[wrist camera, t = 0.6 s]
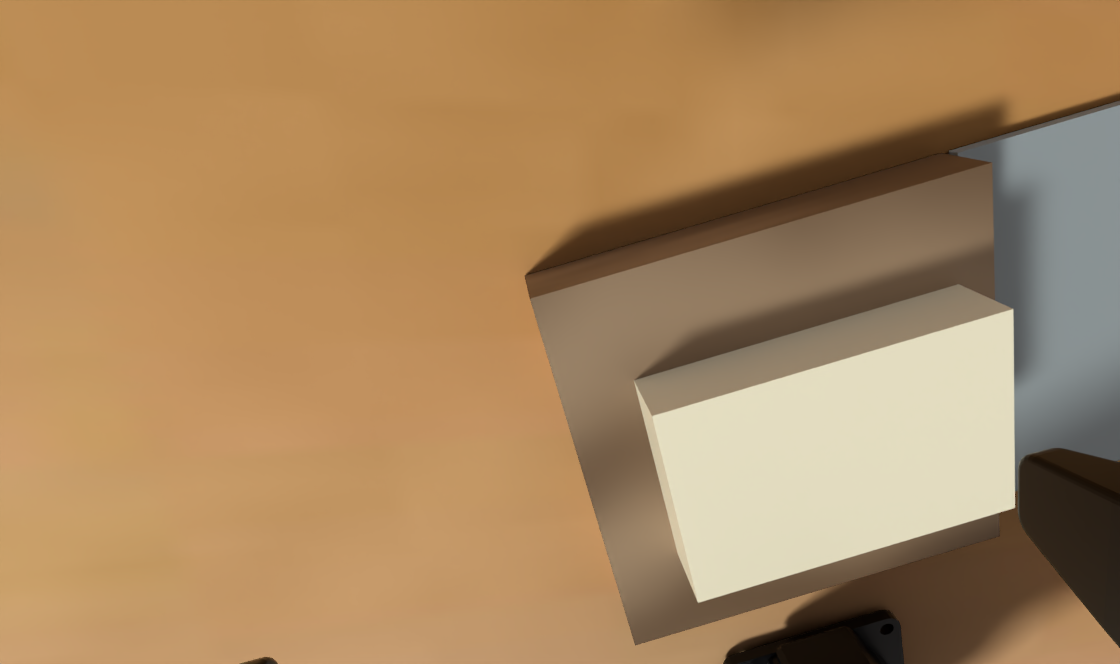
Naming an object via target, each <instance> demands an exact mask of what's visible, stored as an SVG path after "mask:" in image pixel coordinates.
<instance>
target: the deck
mask: <svg viewBox="0 0 1120 664" xmlns="http://www.w3.org/2000/svg"><path fill="white" fill-rule="evenodd" d="M525 280H526V284H527V288H528V292H529V297H530V300H531V304H532V307H533V310H534V313H535V317H536V320H537V323H538V327H539V330H540V333H541V337H542V340H543V343H544V346H545V350H546V353H547V356H548V360H549V363H550V366H551V369H552V373H553V376H554V379H555V383H556V386H557V389H558V393H559V396H560V399H561V402H562V406H563V409H564V412H565V416H566V419H567V422H568V425H569V429H570V432H571V435H572V439H573V442H574V445H575V448H576V452H577V455H578V458H579V462H580V465H581V468H582V472H583V475H584V478H585V481H586V485H587V488H588V491H589V495H590V498H591V501H592V504H593V508H594V511H595V514H596V518H597V521H598V524H599V528H600V531H601V534H602V537H603V541H604V544H605V547H606V551H607V554H608V557H609V560H610V564H611V567H612V570H613V574H614V577H615V580H616V583H617V587H618V590H619V593H620V597H621V600H622V603H623V607H624V610H625V613H626V616H627V620H628V623H629V626H630V630H631V633H632V636H633V639H634V643H635V645H638V644H641V643H645V642H648V641H651V640H655V639H658V638H661V637H665V636H668V635H671V634H675V633H678V632H681V631H685V630H688V629H691V628H695V627H698V626H701V625H705V624H708V623H711V622H715V621H718V620H721V619H725V618H728V617H731V616H735V615H738V614H741V613H745V612H748V611H751V610H755V609H758V608H761V607H765V606H768V605H771V604H775V603H778V602H782V601H785V600H788V599H792V598H795V597H798V596H802V595H805V594H808V593H812V592H815V591H818V590H822V589H825V588H828V587H832V586H835V585H838V584H842V583H845V582H848V581H852V580H855V579H858V578H862V577H865V576H868V575H872V574H875V573H878V572H882V571H885V570H888V569H892V568H895V567H898V566H902V565H905V564H908V563H912V562H915V561H918V560H922V559H925V558H928V557H932V556H935V555H938V554H942V553H945V552H948V551H952V550H955V549H958V548H962V547H965V546H968V545H972V544H975V543H978V542H982V541H985V540H988V539H992V538H995V537H998V536H1000V530H999V513H997V514H993V515H990V516H987V517H983V518H980V519H976V520H973V521H970V522H966V523H963V524H960V525H956V526H953V527H950V528H946V529H943V530H940V531H936V532H933V533H930V534H926V535H923V536H920V537H916V538H913V539H910V540H906V541H903V542H900V543H896V544H893V545H890V546H886V547H883V548H880V549H876V550H873V551H870V552H866V553H863V554H860V555H856V556H853V557H850V558H846V559H843V560H840V561H836V562H833V563H830V564H826V565H823V566H820V567H816V568H813V569H810V570H806V571H803V572H799V573H796V574H793V575H789V576H786V577H783V578H779V579H776V580H773V581H769V582H766V583H763V584H759V585H756V586H753V587H749V588H746V589H743V590H739V591H736V592H733V593H729V594H726V595H723V596H719V597H716V598H713V599H709V600H706V601H703V602H699V603H698V602H697V599H696V597H695V594H694V592H693V589H692V587H691V585H690V582H689V580H688V577H687V575H686V573H685V570H684V568H683V565H682V563H681V561H680V558H679V556H678V553H677V549H676V545H675V541H674V537H673V533H672V529H671V525H670V521H669V517H668V513H667V509H666V505H665V501H664V498H663V494H662V490H661V486H660V482H659V478H658V474H657V470H656V466H655V462H654V458H653V454H652V450H651V446H650V442H649V438H648V434H647V430H646V426H645V422H644V418H643V414H642V411H641V407H640V403H639V399H638V395H637V391H636V387H635V383H634V380H637V379H640V378H643V377H647V376H650V375H653V374H657V373H660V372H664V371H667V370H670V369H674V368H677V367H680V366H684V365H687V364H691V363H694V362H697V361H701V360H704V359H707V358H711V357H714V356H718V355H721V354H724V353H728V352H731V351H734V350H738V349H741V348H745V347H748V346H751V345H755V344H758V343H761V342H765V341H768V340H772V339H775V338H778V337H782V336H785V335H788V334H792V333H795V332H799V331H802V330H805V329H809V328H812V327H815V326H819V325H822V324H826V323H829V322H832V321H836V320H839V319H842V318H846V317H849V316H853V315H856V314H859V313H863V312H866V311H869V310H873V309H876V308H880V307H883V306H886V305H890V304H893V303H896V302H900V301H903V300H907V299H910V298H913V297H917V296H920V295H924V294H927V293H930V292H934V291H937V290H940V289H944V288H947V287H951V286H954V285H957V284H959V285H962V286H964V287H966V288H968V289H970V290H973V291H975V292H977V293H979V294H981V295H984V296H986V297H988V298H990V299H993V300H995V275H994V224H993V173H992V162H987V161H981V160H976V159H971V158H966V157H960V156H955V155H950V154H944V153H940V154H936V155H933V156H930V157H926V158H923V159H919V160H916V161H913V162H909V163H906V164H902V165H899V166H896V167H892V168H889V169H885V170H882V171H879V172H875V173H872V174H869V175H865V176H862V177H858V178H855V179H852V180H848V181H845V182H841V183H838V184H835V185H831V186H828V187H824V188H821V189H818V190H814V191H811V192H807V193H804V194H801V195H797V196H794V197H790V198H787V199H784V200H780V201H777V202H773V203H770V204H767V205H763V206H760V207H756V208H753V209H750V210H746V211H743V212H739V213H736V214H733V215H729V216H726V217H722V218H719V219H716V220H712V221H709V222H705V223H702V224H699V225H695V226H692V227H688V228H685V229H682V230H678V231H675V232H671V233H668V234H665V235H661V236H658V237H654V238H651V239H648V240H644V241H641V242H637V243H634V244H631V245H627V246H624V247H620V248H617V249H614V250H610V251H607V252H604V253H600V254H597V255H593V256H590V257H587V258H583V259H580V260H576V261H573V262H570V263H566V264H563V265H559V266H556V267H553V268H549V269H546V270H542V271H539V272H536V273H532V274H529V275H525Z"/></svg>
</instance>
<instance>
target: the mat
mask: <svg viewBox="0 0 1120 664" xmlns="http://www.w3.org/2000/svg"><path fill="white" fill-rule="evenodd" d="M949 154H950V155H955V156H960V157H966V158H971V159H976V160H981V161H987V162H992V173H993V224H994V275H995V301H997V302H999V303H1001V304H1004V305H1006V306H1008V307H1010V308H1012V309H1013V319H1014V438H1015V491H1017V490H1018V465H1019V462H1020V460H1021V459H1022V458H1023V457H1024V456H1025V455H1027V454H1031V453H1035V452H1039V451H1042V450H1046V449H1050V448H1065V449H1069V450H1073V451H1077V452H1081V453H1085V454H1089V455H1093V456H1097V457H1101V458H1105V459H1109V460H1113V461H1118V460H1120V101H1117V102H1113V103H1110V104H1106V105H1103V106H1100V107H1096V108H1093V109H1089V110H1086V111H1083V112H1079V113H1076V114H1072V115H1069V116H1066V117H1062V118H1059V119H1055V120H1052V121H1049V122H1045V123H1042V124H1038V125H1035V126H1032V127H1028V128H1025V129H1021V130H1018V131H1015V132H1011V133H1008V134H1004V135H1001V136H998V137H994V138H991V139H987V140H984V141H981V142H977V143H974V144H970V145H967V146H964V147H960V148H957V149H953V150H950V151H949Z"/></svg>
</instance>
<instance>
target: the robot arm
mask: <svg viewBox="0 0 1120 664" xmlns="http://www.w3.org/2000/svg"><path fill="white" fill-rule="evenodd" d="M1018 516H1019V520H1020V522H1021V525H1022V527H1023V529H1024V531H1025V532H1026V534H1027V535H1028V536H1029V538H1030V539H1031V540H1032V541H1033V543H1034V544H1035V545H1036V546H1037V548H1038V549H1039V550H1040V551H1041V552H1042V554H1043V555H1044V556H1045V557H1046V559H1047V560H1048V561H1049V562H1050V564H1051V565H1052V566H1053V567H1054V568H1055V570H1056V571H1057V572H1058V573H1059V575H1060V576H1061V577H1062V578H1063V580H1064V581H1065V582H1066V583H1067V585H1068V586H1069V587H1070V588H1071V589H1072V591H1073V592H1074V593H1075V594H1076V596H1077V597H1078V598H1079V599H1080V601H1081V602H1082V603H1083V604H1084V605H1085V607H1086V608H1087V609H1088V610H1089V612H1090V613H1091V614H1092V615H1093V617H1094V618H1095V619H1096V620H1097V622H1098V623H1099V624H1100V625H1101V626H1102V628H1103V629H1104V630H1105V631H1106V632H1107V634H1108V635H1109V636H1110V637H1111V638H1112V639H1113V641H1114V642H1115V643H1116V644H1117V645H1118V646H1119V648H1120V462H1117V461H1113V460H1109V459H1105V458H1101V457H1097V456H1093V455H1089V454H1085V453H1081V452H1077V451H1073V450H1069V449H1065V448H1050V449H1046V450H1042V451H1039V452H1035V453H1031V454H1027V455H1025V456H1024V457H1023V458H1022V459H1021V460H1020V462H1019V465H1018ZM240 664H278V663H277V662H276V661H275V660H274V659H273V658H271V657H263V658H259V659H255V660H251V661H248V662H244V663H240ZM723 664H904V658H903V647H902V637H901V627H900V623H899V621H898V620H897V618H896V617H895V616H894V615H893V613H891V612H890V611H887V610H882V611H877V612H874V613H871V614H867V615H864V616H861V617H857V618H854V619H851V620H847V621H844V622H841V623H837V624H834V625H831V626H827V627H824V628H821V629H817V630H814V631H811V632H807V633H804V634H801V635H797V636H794V637H791V638H787V639H784V640H781V641H777V642H774V643H771V644H767V645H764V646H761V647H757V648H754V649H751V650H747V651H744V652H741V653H737V654H734V655H732V656H730V657H728V658H727V659H726V660H725V661H724V663H723Z"/></svg>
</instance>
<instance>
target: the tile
mask: <svg viewBox="0 0 1120 664" xmlns="http://www.w3.org/2000/svg"><path fill="white" fill-rule="evenodd" d="M634 383H635V387H636V391H637V395H638V399H639V403H640V407H641V411H642V414H643V418H644V422H645V426H646V430H647V434H648V438H649V442H650V446H651V450H652V454H653V458H654V462H655V466H656V470H657V474H658V478H659V482H660V486H661V490H662V494H663V498H664V501H665V505H666V509H667V513H668V517H669V521H670V525H671V529H672V533H673V537H674V541H675V545H676V549H677V553H678V556H679V558H680V561H681V563H682V565H683V568H684V570H685V573H686V575H687V577H688V580H689V582H690V585H691V587H692V589H693V592H694V594H695V597H696V599H697V602H698V603H699V602H703V601H706V600H709V599H713V598H716V597H719V596H723V595H726V594H729V593H733V592H736V591H739V590H743V589H746V588H749V587H753V586H756V585H759V584H763V583H766V582H769V581H773V580H776V579H779V578H783V577H786V576H789V575H793V574H796V573H799V572H803V571H806V570H810V569H813V568H816V567H820V566H823V565H826V564H830V563H833V562H836V561H840V560H843V559H846V558H850V557H853V556H856V555H860V554H863V553H866V552H870V551H873V550H876V549H880V548H883V547H886V546H890V545H893V544H896V543H900V542H903V541H906V540H910V539H913V538H916V537H920V536H923V535H926V534H930V533H933V532H936V531H940V530H943V529H946V528H950V527H953V526H956V525H960V524H963V523H966V522H970V521H973V520H976V519H980V518H983V517H987V516H990V515H993V514H997V513H1000V512H1003V511H1007V510H1010V509H1013V508H1015V438H1014V319H1013V309H1012V308H1010V307H1008V306H1006V305H1004V304H1001V303H999V302H997V301H995V300H993V299H990V298H988V297H986V296H984V295H981V294H979V293H977V292H975V291H973V290H970V289H968V288H966V287H964V286H962V285H959V284H957V285H954V286H951V287H947V288H944V289H940V290H937V291H934V292H930V293H927V294H924V295H920V296H917V297H913V298H910V299H907V300H903V301H900V302H896V303H893V304H890V305H886V306H883V307H880V308H876V309H873V310H869V311H866V312H863V313H859V314H856V315H853V316H849V317H846V318H842V319H839V320H836V321H832V322H829V323H826V324H822V325H819V326H815V327H812V328H809V329H805V330H802V331H799V332H795V333H792V334H788V335H785V336H782V337H778V338H775V339H772V340H768V341H765V342H761V343H758V344H755V345H751V346H748V347H745V348H741V349H738V350H734V351H731V352H728V353H724V354H721V355H718V356H714V357H711V358H707V359H704V360H701V361H697V362H694V363H691V364H687V365H684V366H680V367H677V368H674V369H670V370H667V371H664V372H660V373H657V374H653V375H650V376H647V377H643V378H640V379H637V380H634Z"/></svg>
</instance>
